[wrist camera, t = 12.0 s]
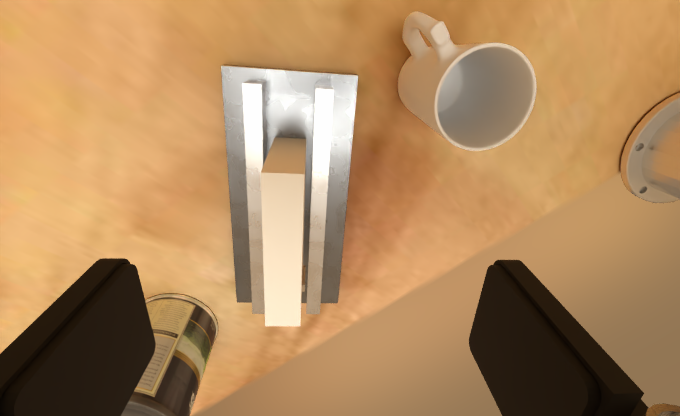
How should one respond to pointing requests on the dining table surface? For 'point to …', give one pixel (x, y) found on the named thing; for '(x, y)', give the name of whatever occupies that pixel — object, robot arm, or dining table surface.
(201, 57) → the dining table surface
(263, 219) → the door panel
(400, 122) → the dining table surface
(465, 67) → the mug
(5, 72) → the dining table surface
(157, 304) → the coffee can
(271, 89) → the door track
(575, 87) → the dining table surface
